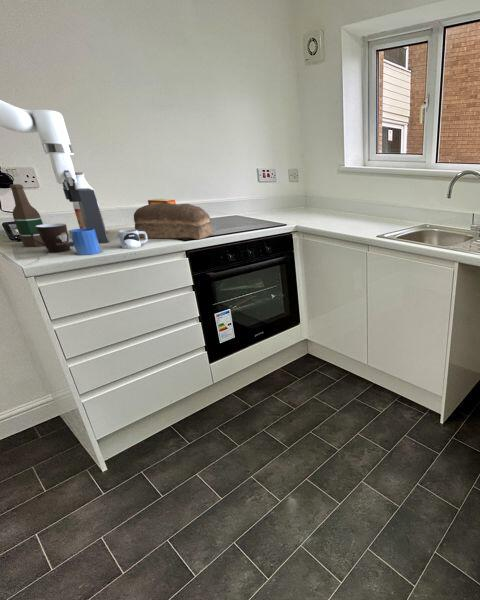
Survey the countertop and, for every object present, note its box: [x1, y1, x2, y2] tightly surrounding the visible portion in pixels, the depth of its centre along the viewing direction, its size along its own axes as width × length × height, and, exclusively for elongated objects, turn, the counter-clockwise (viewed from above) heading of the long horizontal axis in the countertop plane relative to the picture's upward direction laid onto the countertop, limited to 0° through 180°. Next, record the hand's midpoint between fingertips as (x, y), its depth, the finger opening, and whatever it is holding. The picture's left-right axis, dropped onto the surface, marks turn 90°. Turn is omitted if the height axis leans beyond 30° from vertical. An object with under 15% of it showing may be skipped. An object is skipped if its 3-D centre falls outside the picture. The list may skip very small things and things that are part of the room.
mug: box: [117, 228, 149, 249], centre depth 148 cm, size 10×7×7 cm, turn 147°
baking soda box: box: [147, 198, 177, 205], centre depth 179 cm, size 10×6×16 cm
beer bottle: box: [9, 183, 46, 248], centre depth 141 cm, size 8×8×24 cm
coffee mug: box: [31, 222, 71, 254], centre depth 135 cm, size 12×9×10 cm
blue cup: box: [69, 227, 102, 256], centre depth 135 cm, size 7×7×9 cm
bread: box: [133, 203, 214, 240], centre depth 167 cm, size 15×32×16 cm, turn 93°
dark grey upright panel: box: [68, 188, 109, 247], centre depth 148 cm, size 16×12×22 cm
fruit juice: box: [72, 171, 107, 234], centre depth 165 cm, size 9×9×28 cm
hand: (73, 200), depth 128 cm, fingers open, 9 cm apart
